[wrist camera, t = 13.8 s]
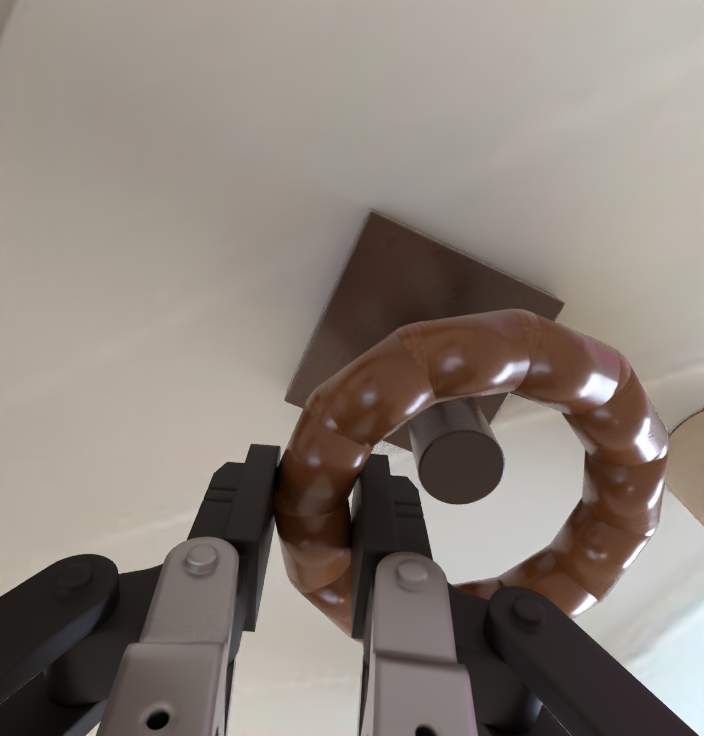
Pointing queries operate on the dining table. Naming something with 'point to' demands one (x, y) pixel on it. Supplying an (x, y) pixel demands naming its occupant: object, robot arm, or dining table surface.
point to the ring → (465, 380)
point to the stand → (408, 305)
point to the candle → (688, 465)
